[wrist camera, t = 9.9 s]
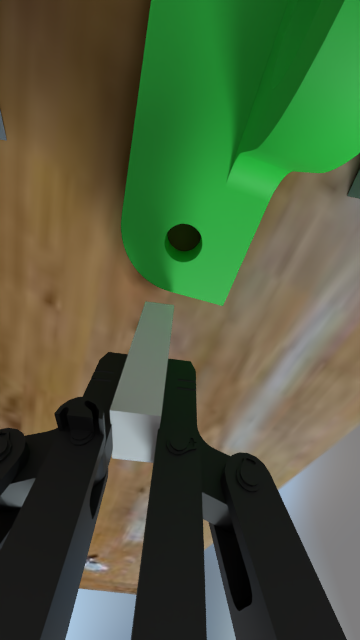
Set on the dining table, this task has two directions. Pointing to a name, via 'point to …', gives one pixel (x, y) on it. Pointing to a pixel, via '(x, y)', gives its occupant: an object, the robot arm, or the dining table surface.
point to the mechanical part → (233, 126)
